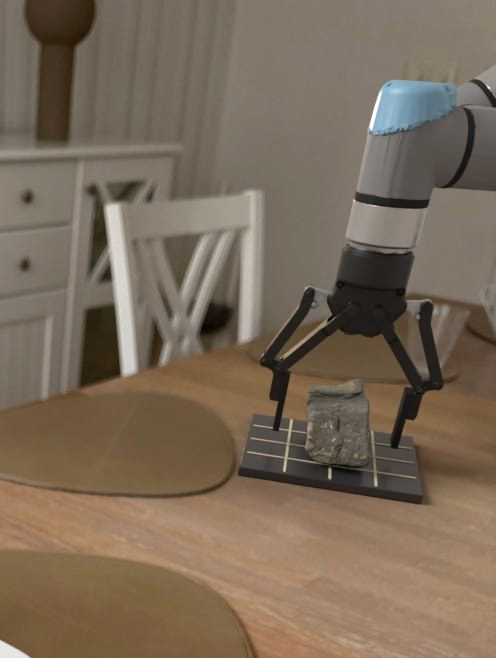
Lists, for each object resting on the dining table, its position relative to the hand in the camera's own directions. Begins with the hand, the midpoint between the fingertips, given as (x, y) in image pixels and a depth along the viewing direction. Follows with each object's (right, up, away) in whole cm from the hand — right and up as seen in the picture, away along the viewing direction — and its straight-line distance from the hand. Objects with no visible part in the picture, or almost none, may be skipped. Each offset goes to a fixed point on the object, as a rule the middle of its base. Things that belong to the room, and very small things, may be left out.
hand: (334, 436), depth 116 cm
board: (0, -2, +1) cm, 3 cm away
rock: (0, -2, +1) cm, 2 cm away
